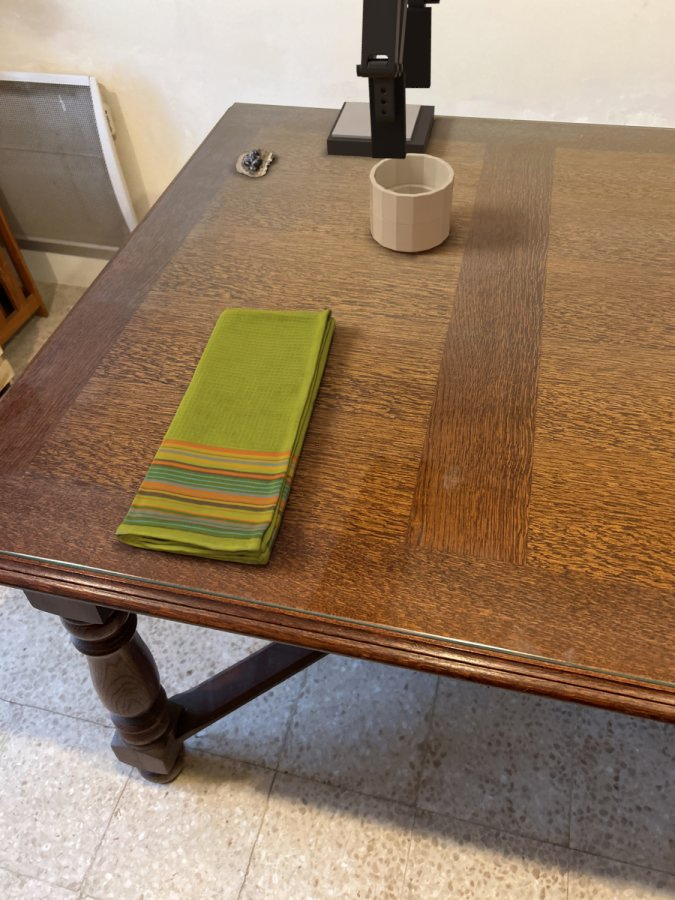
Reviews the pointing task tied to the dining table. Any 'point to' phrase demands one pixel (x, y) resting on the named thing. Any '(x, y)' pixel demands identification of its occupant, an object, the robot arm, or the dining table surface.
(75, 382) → the dining table surface
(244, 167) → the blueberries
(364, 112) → the scale
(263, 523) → the dish towel
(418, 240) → the beige faceted pot
